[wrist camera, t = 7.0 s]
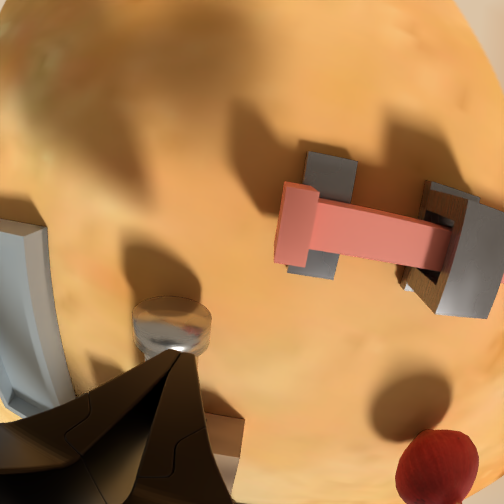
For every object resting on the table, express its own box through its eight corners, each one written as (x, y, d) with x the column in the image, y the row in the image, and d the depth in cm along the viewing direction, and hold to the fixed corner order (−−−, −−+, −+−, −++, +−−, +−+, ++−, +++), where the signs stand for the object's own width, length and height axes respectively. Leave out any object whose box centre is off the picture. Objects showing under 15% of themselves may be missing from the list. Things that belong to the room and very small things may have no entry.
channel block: (234, 466, 18) (229, 498, 15) (131, 441, 18) (118, 470, 15) (244, 419, 16) (239, 457, 13) (120, 390, 16) (101, 421, 14)
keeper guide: (447, 292, 13) (483, 326, 9) (286, 267, 13) (290, 305, 10) (473, 195, 11) (520, 209, 8) (306, 151, 12) (319, 147, 8)
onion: (419, 458, 17) (442, 533, 10) (369, 451, 17) (388, 542, 9) (469, 411, 15) (509, 487, 8) (425, 399, 15) (468, 495, 7)
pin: (203, 451, 18) (195, 489, 14) (157, 440, 18) (144, 476, 14) (217, 303, 14) (202, 344, 11) (149, 290, 14) (119, 325, 11)
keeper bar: (536, 289, 11) (560, 305, 9) (274, 242, 12) (273, 262, 10) (548, 250, 11) (574, 263, 8) (284, 181, 11) (286, 186, 9)
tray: (87, 431, 19) (77, 447, 17) (16, 395, 19) (5, 407, 17) (47, 227, 14) (23, 236, 12) (-28, 213, 14) (-48, 219, 12)
